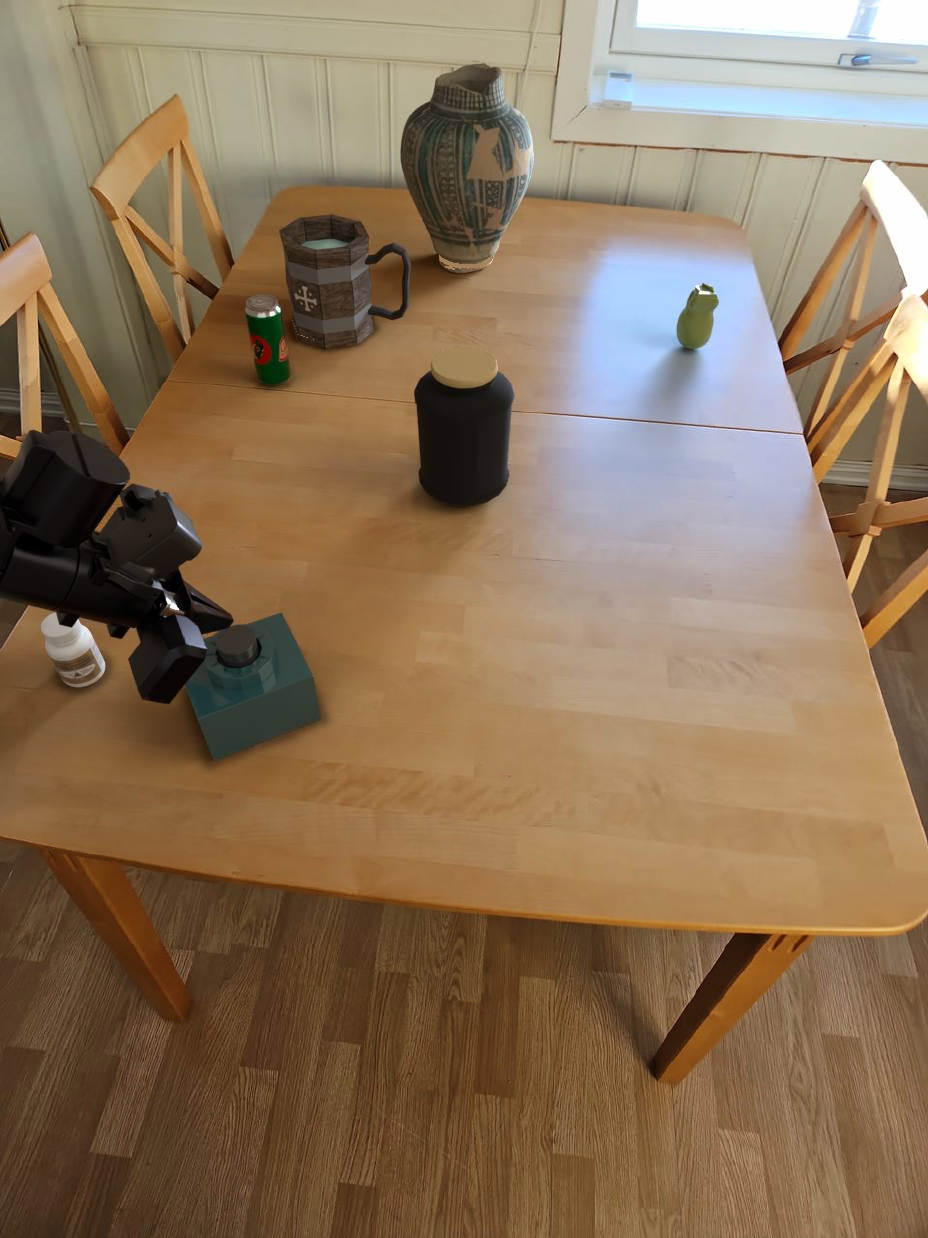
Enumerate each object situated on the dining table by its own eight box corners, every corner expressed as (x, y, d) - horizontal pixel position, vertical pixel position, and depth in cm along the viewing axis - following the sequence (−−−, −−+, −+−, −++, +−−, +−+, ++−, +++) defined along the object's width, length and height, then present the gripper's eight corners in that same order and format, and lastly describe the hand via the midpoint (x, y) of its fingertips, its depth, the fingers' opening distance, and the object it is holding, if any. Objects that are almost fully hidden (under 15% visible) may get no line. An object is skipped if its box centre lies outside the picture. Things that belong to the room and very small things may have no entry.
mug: (282, 346, 128) (267, 250, 117) (300, 303, 137) (288, 211, 126) (406, 354, 128) (404, 259, 117) (417, 311, 137) (415, 219, 126)
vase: (541, 248, 154) (560, 60, 131) (499, 301, 140) (512, 102, 117) (432, 225, 159) (432, 41, 136) (382, 274, 145) (372, 78, 123)
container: (407, 463, 110) (403, 340, 96) (493, 451, 112) (501, 330, 99) (427, 523, 102) (425, 398, 89) (519, 509, 104) (531, 385, 91)
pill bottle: (63, 693, 84) (36, 645, 78) (60, 662, 86) (33, 613, 81) (108, 681, 85) (84, 633, 79) (104, 650, 87) (80, 601, 82)
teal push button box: (213, 761, 79) (193, 707, 72) (188, 693, 84) (167, 637, 77) (321, 719, 82) (311, 664, 76) (291, 656, 88) (279, 599, 81)
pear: (701, 337, 134) (717, 277, 126) (712, 354, 130) (729, 294, 123) (668, 338, 133) (682, 278, 126) (678, 355, 130) (693, 295, 122)
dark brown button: (226, 673, 75) (221, 659, 74) (215, 646, 77) (210, 632, 76) (264, 660, 76) (260, 646, 75) (252, 633, 78) (248, 619, 77)
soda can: (292, 386, 121) (280, 309, 112) (257, 388, 121) (242, 311, 112) (291, 367, 125) (280, 291, 116) (257, 369, 124) (243, 293, 115)
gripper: (145, 576, 54) (321, 630, 66) (89, 424, 65) (249, 493, 76) (60, 691, 57) (242, 722, 69) (21, 527, 68) (184, 578, 80)
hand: (230, 621), depth 73 cm, fingers closed
